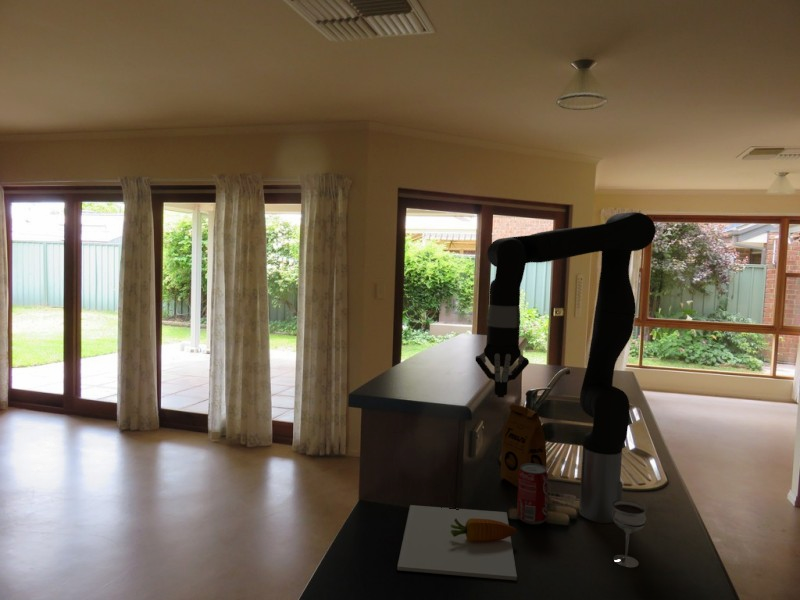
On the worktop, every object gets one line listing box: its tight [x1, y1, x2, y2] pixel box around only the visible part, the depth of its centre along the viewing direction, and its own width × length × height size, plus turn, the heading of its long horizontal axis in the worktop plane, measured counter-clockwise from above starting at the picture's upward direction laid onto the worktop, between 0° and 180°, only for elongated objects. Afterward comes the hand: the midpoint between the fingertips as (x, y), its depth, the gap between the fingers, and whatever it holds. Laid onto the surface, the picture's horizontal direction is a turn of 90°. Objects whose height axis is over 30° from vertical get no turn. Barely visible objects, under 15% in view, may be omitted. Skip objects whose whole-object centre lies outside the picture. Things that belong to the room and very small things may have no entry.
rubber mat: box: [396, 504, 518, 581], centre depth 129 cm, size 24×28×1 cm
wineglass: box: [612, 499, 647, 568], centre depth 122 cm, size 7×7×12 cm
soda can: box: [516, 463, 549, 526], centre depth 139 cm, size 7×7×13 cm
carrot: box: [451, 518, 517, 542], centre depth 127 cm, size 5×5×15 cm
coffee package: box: [500, 403, 548, 488], centre depth 160 cm, size 10×12×22 cm
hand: (500, 396), depth 135 cm, fingers closed
